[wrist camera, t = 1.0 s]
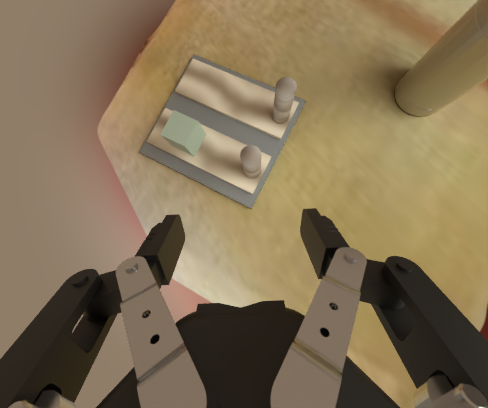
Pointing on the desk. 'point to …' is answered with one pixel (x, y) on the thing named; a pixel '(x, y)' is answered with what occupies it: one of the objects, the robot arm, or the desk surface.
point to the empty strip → (240, 97)
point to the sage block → (183, 133)
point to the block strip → (218, 156)
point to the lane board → (227, 128)
